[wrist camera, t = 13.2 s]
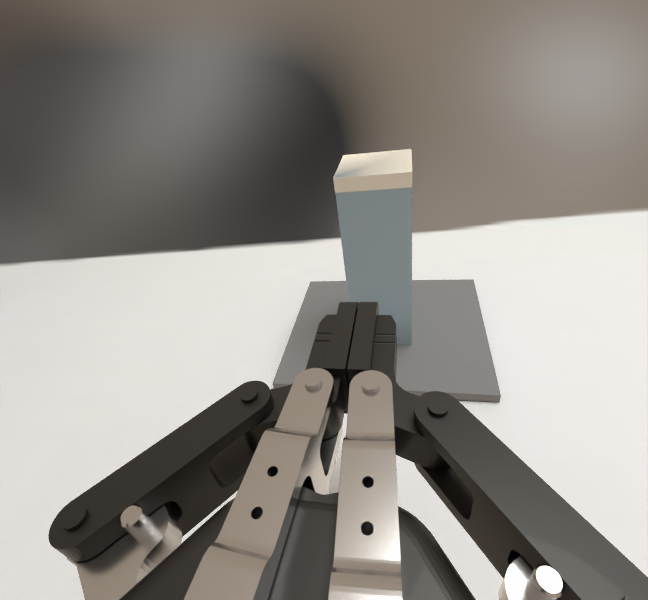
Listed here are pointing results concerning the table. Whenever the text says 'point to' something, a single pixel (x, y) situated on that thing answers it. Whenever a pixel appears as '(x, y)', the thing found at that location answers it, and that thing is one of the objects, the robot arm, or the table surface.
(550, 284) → the table surface
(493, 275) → the table surface
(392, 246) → the blue block
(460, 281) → the mat
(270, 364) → the table surface
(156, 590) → the robot arm
